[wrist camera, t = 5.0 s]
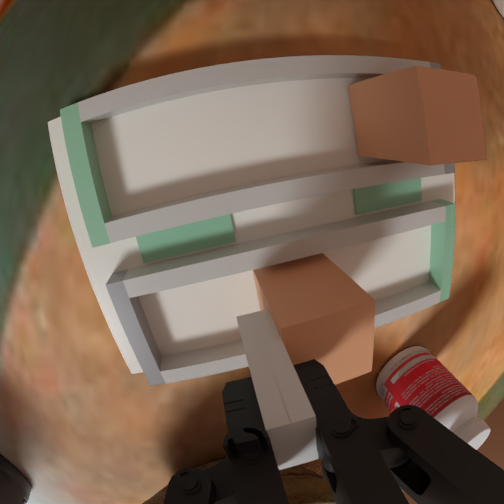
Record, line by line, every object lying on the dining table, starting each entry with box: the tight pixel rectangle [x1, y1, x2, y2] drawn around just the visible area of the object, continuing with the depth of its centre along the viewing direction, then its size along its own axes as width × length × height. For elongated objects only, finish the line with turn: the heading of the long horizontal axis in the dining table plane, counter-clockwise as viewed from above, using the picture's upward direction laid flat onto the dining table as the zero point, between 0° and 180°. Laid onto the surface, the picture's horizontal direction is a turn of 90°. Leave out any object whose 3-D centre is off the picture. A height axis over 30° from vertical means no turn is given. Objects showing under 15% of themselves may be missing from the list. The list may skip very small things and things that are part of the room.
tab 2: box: [347, 66, 486, 166], centre depth 13 cm, size 4×4×6 cm
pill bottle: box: [376, 346, 490, 450], centre depth 20 cm, size 6×6×11 cm
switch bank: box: [48, 55, 456, 386], centre depth 16 cm, size 24×16×3 cm, turn 100°
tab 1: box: [253, 253, 375, 385], centre depth 15 cm, size 4×4×6 cm
